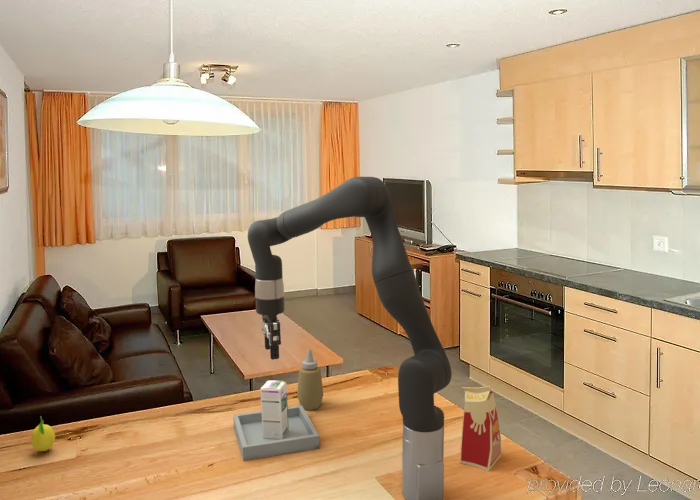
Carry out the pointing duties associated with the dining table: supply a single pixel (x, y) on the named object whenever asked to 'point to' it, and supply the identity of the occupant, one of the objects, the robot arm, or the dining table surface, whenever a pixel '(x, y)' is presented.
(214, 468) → the dining table surface
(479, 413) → the milk carton
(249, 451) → the tray
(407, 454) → the robot arm
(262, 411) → the syrup box
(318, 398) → the squeeze bottle
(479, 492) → the dining table surface
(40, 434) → the lemon
